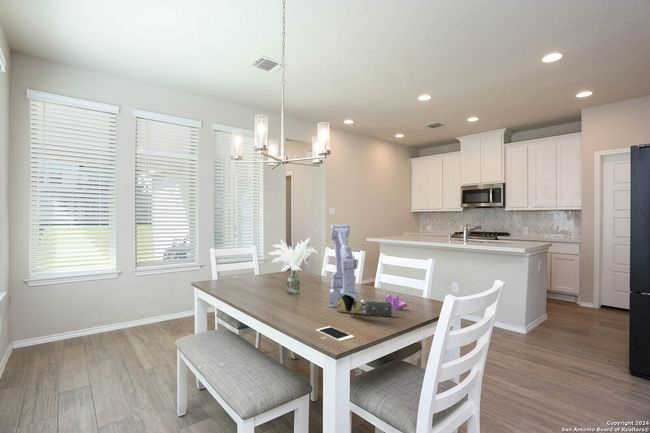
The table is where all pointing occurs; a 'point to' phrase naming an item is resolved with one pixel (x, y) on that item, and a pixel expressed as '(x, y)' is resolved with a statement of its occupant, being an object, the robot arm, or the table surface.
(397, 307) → the bracket
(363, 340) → the table surface
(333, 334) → the cell phone
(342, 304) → the brass leaf
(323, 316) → the table surface
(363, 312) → the dark grey piece
